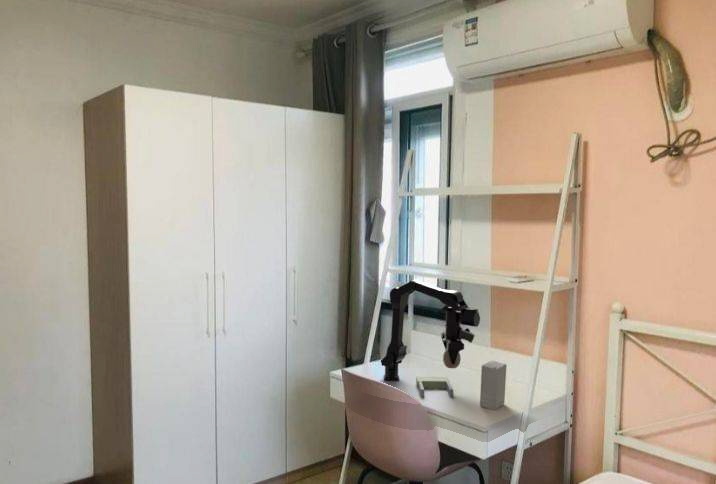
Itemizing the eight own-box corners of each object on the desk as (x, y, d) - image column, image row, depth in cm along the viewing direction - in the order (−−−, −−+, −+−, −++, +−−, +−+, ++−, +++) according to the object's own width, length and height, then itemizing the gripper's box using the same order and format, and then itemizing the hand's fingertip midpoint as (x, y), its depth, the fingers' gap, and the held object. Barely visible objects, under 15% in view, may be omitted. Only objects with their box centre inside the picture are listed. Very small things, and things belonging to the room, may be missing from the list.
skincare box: (489, 400, 217) (490, 359, 216) (506, 405, 212) (507, 363, 211) (478, 406, 210) (479, 364, 209) (496, 411, 206) (497, 367, 205)
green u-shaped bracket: (416, 383, 237) (416, 376, 237) (447, 384, 237) (447, 377, 237) (420, 397, 220) (420, 389, 220) (453, 397, 220) (454, 389, 220)
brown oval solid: (439, 365, 230) (440, 344, 229) (454, 364, 232) (455, 342, 232) (448, 370, 223) (449, 348, 223) (463, 368, 226) (464, 347, 225)
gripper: (478, 328, 217) (476, 368, 218) (468, 318, 236) (467, 355, 237) (449, 328, 217) (447, 368, 218) (441, 318, 236) (440, 355, 237)
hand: (451, 361), depth 228 cm, fingers closed on brown oval solid, 7 cm apart
